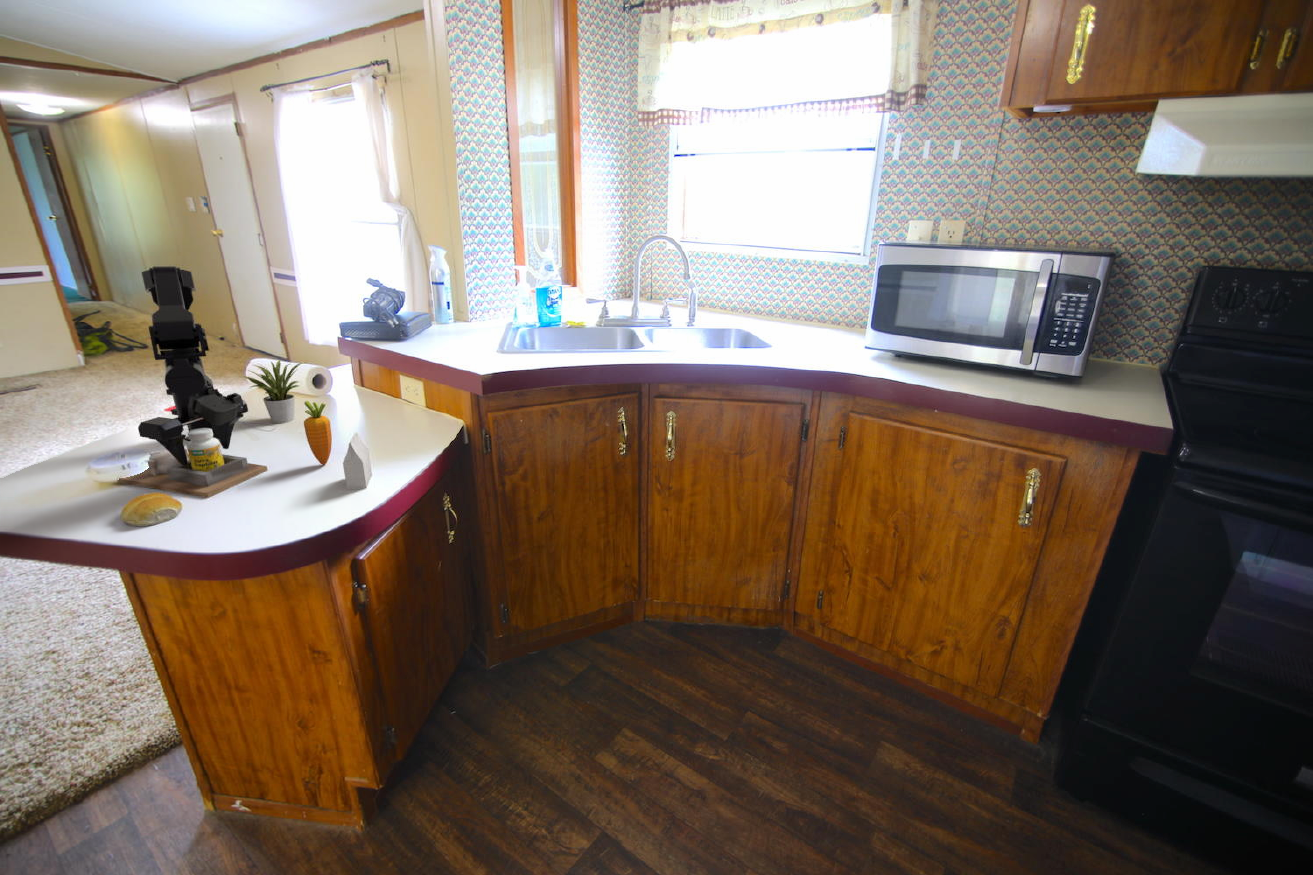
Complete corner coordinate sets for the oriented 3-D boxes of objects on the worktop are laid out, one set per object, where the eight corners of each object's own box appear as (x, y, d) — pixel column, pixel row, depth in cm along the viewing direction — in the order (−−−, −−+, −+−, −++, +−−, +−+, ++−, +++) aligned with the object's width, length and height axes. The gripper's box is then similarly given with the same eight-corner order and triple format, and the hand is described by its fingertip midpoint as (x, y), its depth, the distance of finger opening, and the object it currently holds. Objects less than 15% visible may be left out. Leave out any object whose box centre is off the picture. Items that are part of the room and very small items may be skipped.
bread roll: (169, 501, 113) (164, 482, 112) (189, 515, 109) (185, 495, 108) (114, 517, 107) (108, 497, 105) (134, 532, 102) (128, 512, 101)
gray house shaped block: (371, 475, 128) (366, 431, 125) (366, 488, 122) (360, 443, 119) (353, 476, 127) (346, 432, 124) (346, 489, 121) (339, 444, 118)
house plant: (302, 407, 168) (292, 350, 162) (327, 417, 160) (317, 359, 155) (246, 418, 157) (233, 358, 151) (270, 431, 149) (257, 368, 144)
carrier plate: (118, 482, 119) (112, 464, 118) (184, 457, 132) (180, 440, 131) (208, 497, 115) (203, 479, 114) (267, 470, 128) (264, 453, 126)
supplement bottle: (226, 467, 126) (216, 425, 123) (226, 476, 122) (216, 433, 118) (194, 472, 123) (184, 428, 120) (193, 481, 119) (182, 437, 116)
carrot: (341, 463, 133) (331, 399, 128) (323, 471, 129) (312, 405, 123) (324, 459, 135) (314, 396, 129) (305, 467, 130) (294, 402, 125)
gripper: (176, 400, 105) (195, 480, 111) (262, 375, 123) (276, 445, 128) (126, 394, 108) (147, 472, 113) (218, 370, 125) (233, 439, 130)
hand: (206, 456), depth 121 cm, fingers open, 9 cm apart
